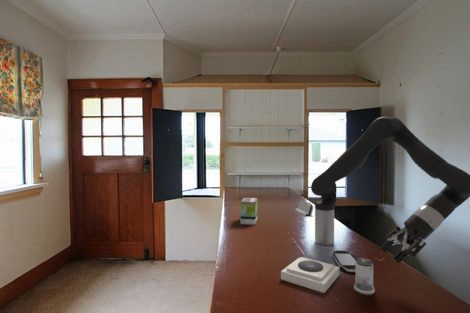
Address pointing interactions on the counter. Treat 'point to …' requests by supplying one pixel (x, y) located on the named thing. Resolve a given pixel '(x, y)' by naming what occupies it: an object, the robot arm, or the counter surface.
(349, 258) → the gaming console
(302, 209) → the hinge
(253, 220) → the tea box
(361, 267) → the knob
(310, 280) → the stand
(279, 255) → the counter surface
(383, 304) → the counter surface
